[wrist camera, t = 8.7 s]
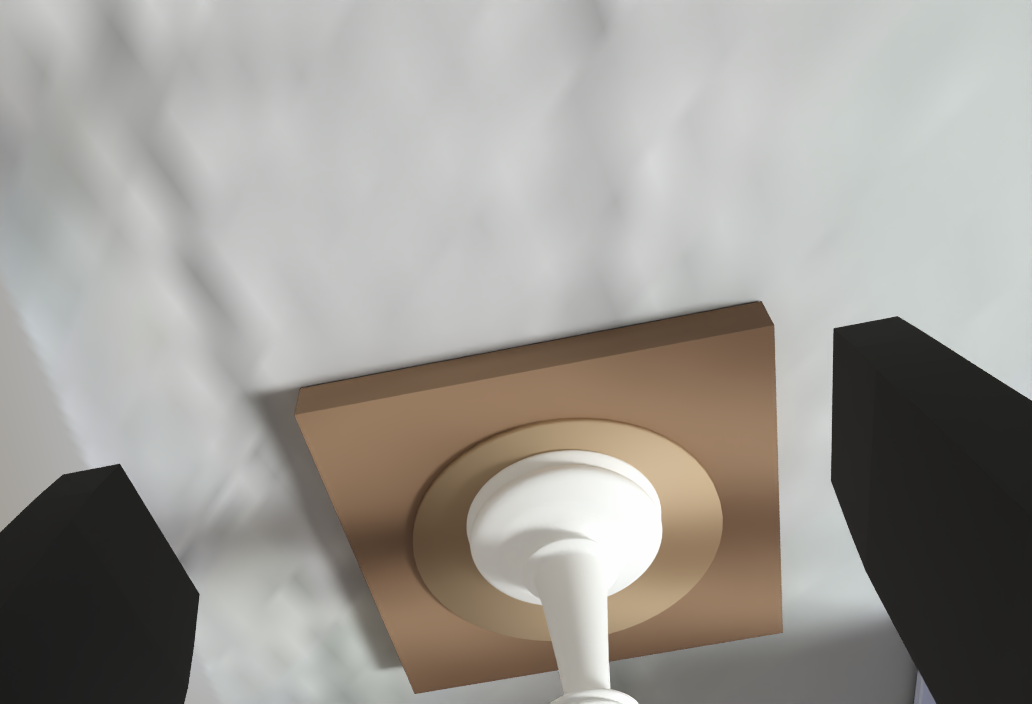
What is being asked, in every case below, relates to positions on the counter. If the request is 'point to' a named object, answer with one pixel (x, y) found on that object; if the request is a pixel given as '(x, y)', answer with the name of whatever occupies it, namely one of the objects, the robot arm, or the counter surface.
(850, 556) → the counter surface
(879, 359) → the robot arm
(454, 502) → the pedestal
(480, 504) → the chess piece
